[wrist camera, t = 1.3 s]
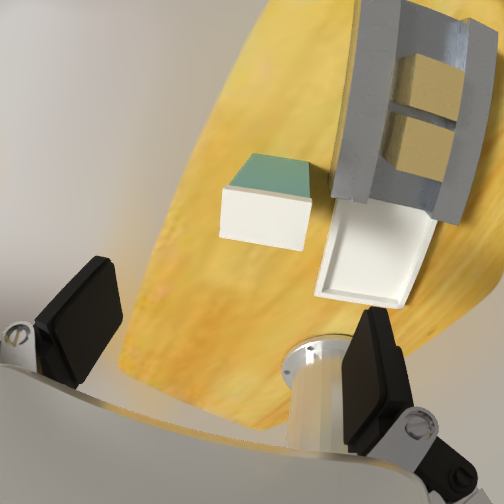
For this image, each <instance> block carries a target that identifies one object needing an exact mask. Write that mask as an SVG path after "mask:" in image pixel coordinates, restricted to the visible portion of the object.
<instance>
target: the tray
mask: <svg viewBox="0 0 504 504" xmlns="http://www.w3.org/2000/svg"><path fill="white" fill-rule="evenodd" d="M437 221H438V220H434V219H431V218H430V217H429V216H428V214H427V213H426V212H425V211H424V210H422V209H418V208H414V207H410V206H405V205H401V204H397V203H393V202H388V201H384V200H379V199H375V198H370V197H368V201H367V204H364V203H359V202H354V201H349V200H344V199H339V198H336V200H335V205H334V209H333V214H332V218H331V223H330V227H329V231H328V235H327V240H326V244H325V248H324V252H323V256H322V260H321V264H320V268H319V272H318V276H317V280H316V283H315V287H314V296H317V297H323V298H329V299H336V300H342V301H348V302H355V303H361V304H368V305H374V306H381V307H388V308H395V309H403V307H404V304H405V302H406V300H407V298H408V296H409V293H410V291H411V289H412V286H413V284H414V282H415V279H416V277H417V275H418V272H419V270H420V267H421V265H422V262H423V260H424V257H425V254H426V252H427V249H428V246H429V244H430V241H431V238H432V235H433V233H434V230H435V227H436V224H437Z"/></svg>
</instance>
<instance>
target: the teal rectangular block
mask: <svg viewBox="0 0 504 504" xmlns="http://www.w3.org/2000/svg"><path fill="white" fill-rule="evenodd" d="M311 206H312V198H310V183H309V162H305V161H299V160H294V159H287V158H281V157H275V156H268V155H261V154H254V153H253V154H252V155H251V157H250V158H249V159H248V161H247V162H246V163H245V164H244V166H243V167H242V168H241V170H240V171H239V172H238V173H237V175H236V176H235V177H234V179H233V180H232V181H231V183H230V184H229V185H225V187H224V188H223V193H222V207H221V221H220V236H219V237H221V238H227V239H233V240H239V241H244V242H250V243H256V244H262V245H268V246H274V247H279V248H285V249H291V250H297V251H303V246H304V241H305V236H306V231H307V226H308V221H309V216H310V211H311Z"/></svg>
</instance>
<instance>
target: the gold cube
mask: <svg viewBox="0 0 504 504" xmlns="http://www.w3.org/2000/svg"><path fill="white" fill-rule="evenodd" d="M464 77H465V71H462V70H460V69H457V68H455V67H453V66H450V65H448V64H445V63H443V62H440V61H437V60H435V59H432V58H429V57H426V56H424V55H421V54H418V53H416V54H412V55H408V56H405V57H401V60H400V68H399V75H398V82H397V88H396V94H395V100H394V103H397V104H401V105H404V106H408V107H411V108H414V109H417V110H421V111H424V112H427V113H430V114H433V115H436V116H439V117H442V118H446V119H449V120H453V121H456V122H457V119H458V114H459V108H460V103H461V97H462V91H463V84H464Z"/></svg>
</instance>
